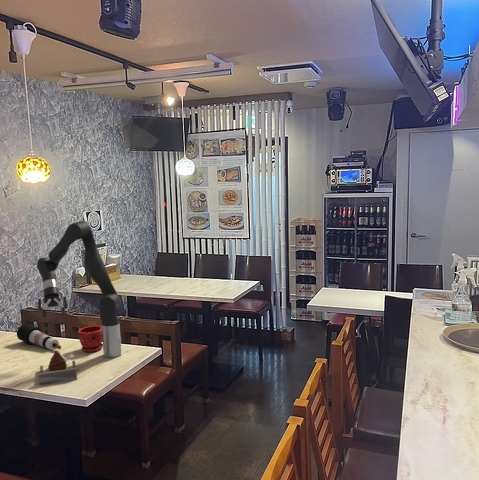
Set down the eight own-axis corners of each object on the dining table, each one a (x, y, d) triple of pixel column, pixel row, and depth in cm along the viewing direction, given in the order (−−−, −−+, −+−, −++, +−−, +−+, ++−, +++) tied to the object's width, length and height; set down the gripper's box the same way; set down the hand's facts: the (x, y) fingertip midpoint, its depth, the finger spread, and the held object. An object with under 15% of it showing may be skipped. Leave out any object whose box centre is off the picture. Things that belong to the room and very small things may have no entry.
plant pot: (95, 344, 275) (94, 324, 273) (108, 348, 266) (107, 328, 265) (74, 350, 265) (73, 329, 263) (88, 355, 256) (86, 333, 255)
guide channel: (40, 370, 236) (39, 360, 236) (75, 365, 242) (74, 355, 242) (39, 385, 218) (38, 374, 218) (77, 379, 224) (76, 369, 224)
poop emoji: (45, 369, 238) (43, 351, 237) (60, 364, 245) (59, 346, 244) (55, 373, 232) (53, 355, 231) (71, 368, 238) (69, 350, 237)
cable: (56, 360, 263) (48, 347, 258) (21, 343, 281) (13, 331, 276) (70, 347, 269) (63, 334, 264) (35, 332, 288) (28, 320, 283)
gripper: (36, 287, 248) (39, 314, 240) (65, 284, 255) (69, 310, 247) (36, 294, 254) (39, 321, 245) (64, 292, 260) (67, 317, 252)
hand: (54, 316), depth 246 cm, fingers open, 8 cm apart
